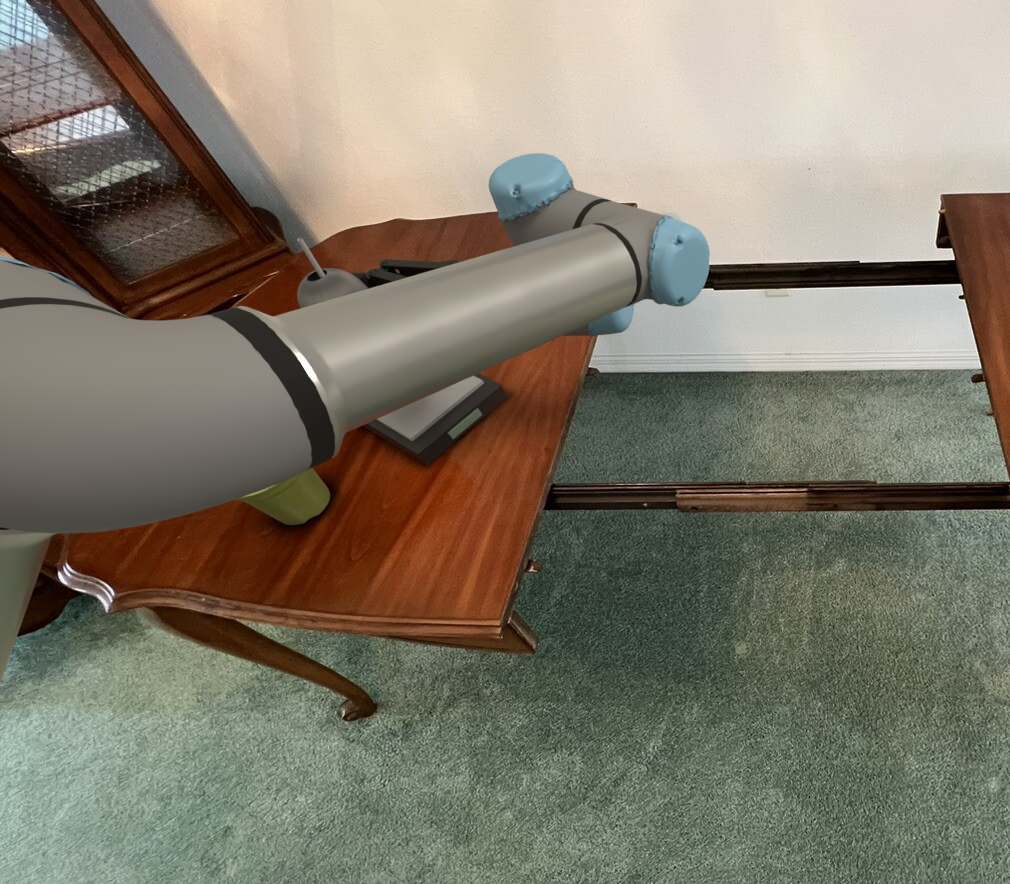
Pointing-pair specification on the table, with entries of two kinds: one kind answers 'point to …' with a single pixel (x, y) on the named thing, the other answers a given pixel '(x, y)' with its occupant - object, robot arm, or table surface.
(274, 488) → the plant pot
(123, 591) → the table surface
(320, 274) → the beverage cup
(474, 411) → the scale
